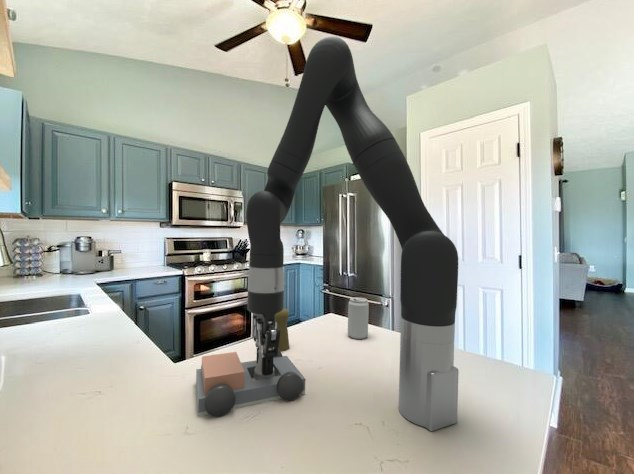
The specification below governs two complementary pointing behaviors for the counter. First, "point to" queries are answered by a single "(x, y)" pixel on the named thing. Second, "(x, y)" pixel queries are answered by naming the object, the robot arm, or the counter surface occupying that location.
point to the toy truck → (243, 383)
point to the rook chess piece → (258, 369)
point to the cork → (283, 329)
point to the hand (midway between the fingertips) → (264, 368)
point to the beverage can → (358, 318)
